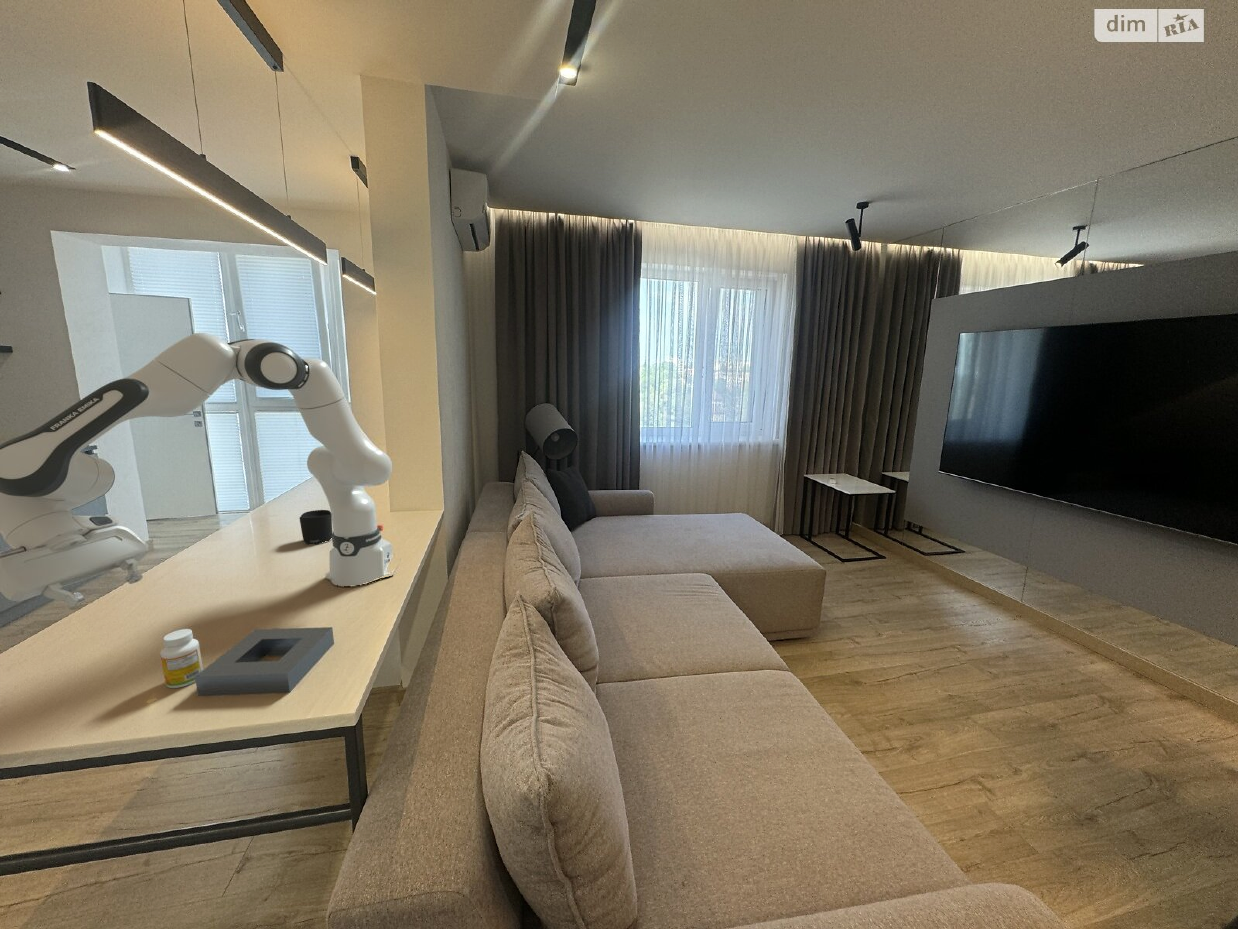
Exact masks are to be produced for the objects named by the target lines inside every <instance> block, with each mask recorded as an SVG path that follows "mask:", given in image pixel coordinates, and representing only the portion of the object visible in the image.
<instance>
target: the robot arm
mask: <svg viewBox="0 0 1238 929" xmlns="http://www.w3.org/2000/svg"><path fill="white" fill-rule="evenodd" d="M233 380H240V381H243V382H246V383H248V384H249V385H252V386H255V387H258V388H264V389H267V390H271V391H272V390H273V391H283V390H285V391H288V392H289V393H290V394H291V396H292V397H293V400H294V402H295V403H296V406H297V409H298V411H299V413H300V415H301V417H302V420H303V422H304V423H305V426H306V427H307V431H308V432H309V435H311V436H312V437H313V439H315V440H317V441H318V442H319V443H321V445H322V446H318V447H315V448H314V449H313V450H311V451H310V453H309V454H308V456H307V460H306V465H307V469H308V471H309V473H310V474H311V475H312V476H313V477H314V478H315V479H316V480H317V482H318V483H319V485H320V487H321V489H322V490H323V493H324V495H325V497H326V500H327V502H328V505H329V509H330V510H329V511H330V512H331V516H332V539H331V541H332V547H333V548H331V549H330V551H329V572H327V573H326V574H325V579H327V580H329V581H331V583H332V584H333V585H334V586H337V585H338V587H344V586H350V587H352V586H351V585H360V584H363V583H366V582H370V581H373V580H374V579H376V578H380V577H382V576H384V575H389V574H392V573H393V572H394V570H393V571H391V572H392V573H390V572H387V567H388V565H389V562H390V561H391V558H392V557H393V554H394V552H393V546H392V543H391V542H389V541H388V540H386V539H384V538H383V537H382V535H381V534H382V533H381V532H383V530H384V525H383V524H382V523H381V524H378V521H377V520H378V519H377V518H378V517H377V508H376V503H375V501H374V499H373V498H372V497H371V496H370V495H369V494H368V493H367V492H366V490H365V488H369V487H378V486H381V485H383V484H385V483H386V482H387V481H388V480H389V479H390V477H391V475H392V472H393V462H392V459H391V457H390V456H389V455H388V454H387V453H385V452H384V451H382V450H381V449H380V448H378V447H377V446H376V444H374V442H372V441H371V439H370V438H369V437H368V436H367V435H366V433H365V432H364V430H362V428H361V427H360V425H359V423H358V422H357V420H356V418H355V416H354V413H353V411H352V410H351V407H350V404H349V402H348V400H347V398H346V395H345V393H344V390H343V388H342V386H341V385H340V382H339V381H338V379H337V377H336V375H335V373H334V371H333V370H332V369H331V367H330V366H329V365H328V363H327V362H325V361H324V360H322V359H319V358H315V357H305V358H302V357H301V356H299V355H298V354H297V353H296V352H294V350H292V349H290V348H289V347H288V346H285V345H284V344H280V343H278V342H275V341H271V340H268V339H261V338H260V339H254V338H253V339H252V338H247V339H241V340H235V341H231V342H226V341H224V339H221V338H220V337H218V336H216V335H213V334H209V333H205V332H195V333H192V334H190V335H188V336H186V337H184V338H182V339H180V340H179V341H177V342H176V343H173V345H171V346H169V347H168V348H166V349H165V350H163V351H162V352H161V353H159V354H158V355H157V356H156V357H154V358H153V359H151V360H150V361H149V362H148V363H147V364H146V365H144V366H143V367H142V368H139V369H138V370H137V371H135V372H133V373H131V374H130V375H127V376H125V377H123V378H120V379H116V380H114V381H111V382H109V383H107V384H105V385H103V386H101V387H99V388H98V389H96V390H94V391H93V392H91V393H90V394H88V395H86V396H84V397H83V398H82V399H80V400H79V401H77V402H75V403H74V404H73V405H71V406H69V407H68V408H66V409H64V410H63V411H62V412H60V413H59V414H57V415H56V416H54V417H53V418H51V419H50V420H48V421H46V422H45V423H44V424H42V425H40V426H39V427H37V428H35V429H33V430H31V431H29V432H26V433H24V434H22V435H19V436H16V437H14V438H12V439H9V440H7V441H4V442H3V443H1V444H0V534H1V536H2V538H3V540H4V541H5V542H6V544H7V545H9V546H10V547H11V549H9V550H6V551H3V552H2V551H1V552H0V594H2V596H4V598H6V599H7V600H9V601H14V602H22V601H26V600H29V599H32V598H35V597H38V596H40V595H44V597H45V598H48V599H51V600H56V601H59V602H63V603H65V604H66V605H67V606H68V607H69V608H73V607H75V606H78V605H80V604H83V602H84V601H86V600H85V599H86V598H85V596H84V595H82V593H81V592H80V591H76V592H71V591H68V590H66V589H65V590H64V589H62V588H63V587H66V586H69V585H73V584H75V583H78V582H81V581H84V580H87V579H90V578H93V577H96V576H99V575H103V574H105V573H108V572H110V571H113V570H116V569H119V568H120V569H121V570H122V571H127V575H126V576H125V577H124V578H123V579H124V580H125V581H126V582H127V583H128V584H130V585H133V584H135V583H138V582H140V581H141V580H142V579H143V577H144V576H143V575H142V574H141V573H140V572H139V571H138V562H139V561H141V560H143V559H144V558H145V556H146V555H147V554H148V553H149V548H150V546H149V544H148V543H147V542H146V541H145V540H144V539H143V538H142V537H140V536H139V534H137V533H136V532H135V531H133V530H132V529H130V528H129V527H127V526H125V525H118V524H119V523H120V521H119V520H120V519H118V518H117V517H116V516H114V515H110V514H109V515H108V514H107V515H79V514H78V515H77V514H76V515H74V514H73V513H72V512H71V511H72V510H75V509H78V508H80V507H83V506H86V505H87V504H90V503H92V502H94V501H95V500H98V499H99V498H101V497H102V496H104V495H106V494H107V493H108V492H109V491H110V490H111V488H113V486H114V483H115V478H116V476H115V475H116V474H115V470H114V468H113V467H112V465H111V464H110V463H109V462H108V461H106V460H104V459H103V458H99V457H97V456H93V455H91V454H87V453H84V452H82V450H84V449H86V447H88V446H90V445H91V444H93V443H94V442H95V441H96V440H98V439H99V438H101V437H102V436H104V435H105V434H106V433H108V432H109V431H110V430H112V429H113V428H114V427H116V426H118V425H119V424H122V423H123V422H126V421H129V420H133V419H138V418H147V417H159V418H175V417H176V418H177V417H182V416H185V415H187V414H189V413H190V412H193V411H194V410H196V409H197V408H199V407H200V406H201V405H203V403H205V402H206V401H207V400H208V399H209V398H210V397H211V396H212V395H213V394H214V393H216V391H218V390H219V388H221V386H223V385H225V384H226V383H228V382H230V381H233ZM360 586H361V585H360Z"/></svg>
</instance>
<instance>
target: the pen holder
mask: <svg viewBox="0 0 1238 929" xmlns="http://www.w3.org/2000/svg"><path fill="white" fill-rule="evenodd" d="M299 524H300V529H301V535H302V540H303V541H302V542H303V543H304V544H305V545H309V544H315V545H320V544H319V543H322V542H325V541H328V542H330V541H331V540H332V539H331V538H332V534H333V524H332V516H331V510H329V509H316V510H310V511H306V512H304V513H302V514H301V515H300V517H299ZM330 539H331V540H330ZM329 540H330V541H329ZM325 543H326V542H325ZM322 544H323V543H322Z"/></svg>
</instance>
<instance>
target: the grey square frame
mask: <svg viewBox="0 0 1238 929" xmlns="http://www.w3.org/2000/svg"><path fill="white" fill-rule="evenodd" d="M333 631H334V629H333V627H332V626H331V627H327V626H326V627H322V626H321V627H295V628H294V627H293V628H291V627H290V628H289V627H287V628H256V629H254V630H252V631H251V632H250V633H248V634H247V635H246V636H244V637H243V638H242V639H241V640H239V641H238V642H237V643H236V644H235V645H232V647H230V649H228V650H227V651H226V652H224V653H223V654H222V655H220V656H219V657H218V658H216V659H215V660H214V661H213V662H212V663H210V664H209V665H208V666H206V667H205V668H203V669H204V670H203V671H201V672H200V673H199V674H198V675H196V676H195V681H196V682H195V685H196V691H197V692H196V693H197V696H198V697H205V696H208V697H209V696H211V697H212V696H230V695H231V696H234V695H257V694H281V693H283V694H284V693H285V694H286V693H291V692H292V690H293V689H295V688H296V686H297V685H298V684H299V683H300V682H301V681H302V680H303V678H305V676H306V675H307V674H308V673H309V672H310V671H311V670H312V669H313V667H315V665H316V664H317V663H319V661H320V660H321V659H322V658H323V657H324V655H325V654H326V653H327V652H328V651H329V650H331V648H332V647H333V646H334V644H335V639H334V632H333ZM264 657H281V658H280V659H279V660H272V661H270V660H269V661H267V660H266V661H261V660H263V658H264Z"/></svg>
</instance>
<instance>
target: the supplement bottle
mask: <svg viewBox="0 0 1238 929" xmlns="http://www.w3.org/2000/svg"><path fill="white" fill-rule="evenodd" d="M162 640H163V646H164V647H163V648H162V649H161V650H160V658H161V665H162V669H163V675H164V676H163V677H164V681H165V684H166V687H168V688H171V689H178V688H182V687H183V688H184V687H186V686H190V685H191V684H194V683H196V681H195V676H196V675H198V674H199V673H200V672H201V671H203V670H204V669H205V668H204V665H203V659H202V654H201V653H202V652H201V647H200V643H199V640H198V639H196V638H194V634H193V631H192V629H189V628H181V629H177V630H175V631H172V632H169V633H167V634H166V635H165V636H164V637H163V638H162Z"/></svg>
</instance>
